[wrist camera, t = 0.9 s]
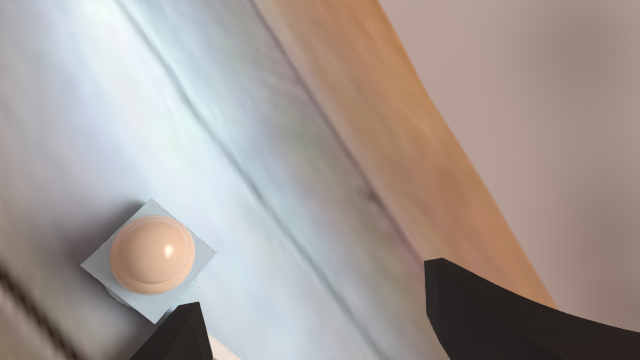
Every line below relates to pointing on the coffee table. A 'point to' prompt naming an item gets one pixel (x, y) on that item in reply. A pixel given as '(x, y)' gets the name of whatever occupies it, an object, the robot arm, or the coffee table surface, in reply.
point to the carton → (220, 350)
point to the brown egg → (152, 255)
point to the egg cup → (143, 304)
